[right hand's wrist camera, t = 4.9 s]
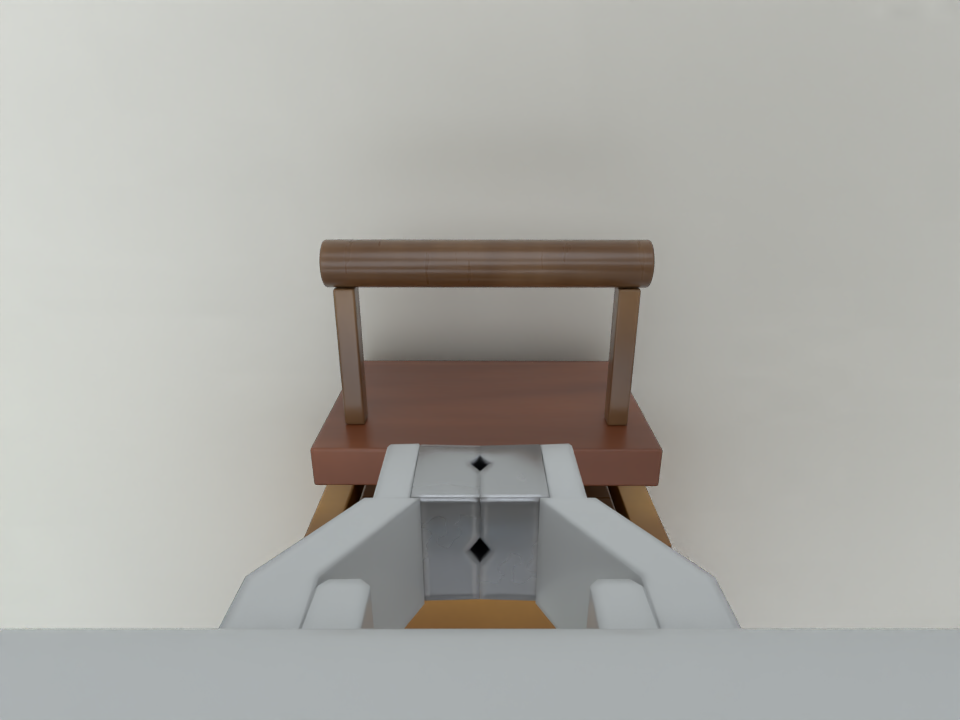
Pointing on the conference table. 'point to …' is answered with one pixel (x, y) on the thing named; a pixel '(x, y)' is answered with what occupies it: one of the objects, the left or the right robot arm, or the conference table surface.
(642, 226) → the conference table surface
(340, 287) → the drawer
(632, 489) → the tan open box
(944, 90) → the conference table surface
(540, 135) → the conference table surface
